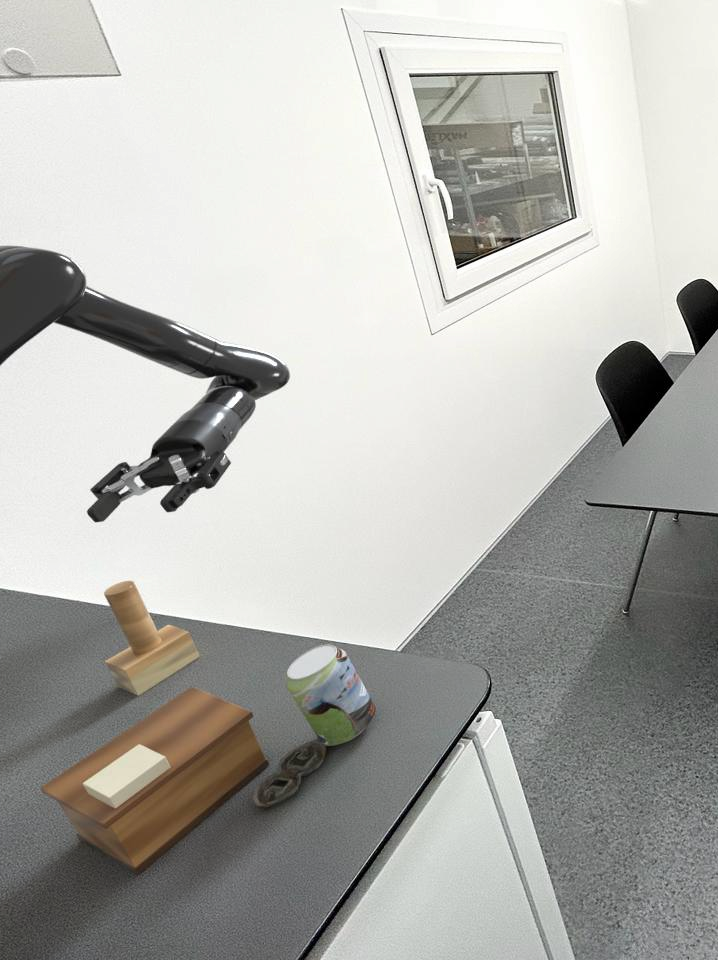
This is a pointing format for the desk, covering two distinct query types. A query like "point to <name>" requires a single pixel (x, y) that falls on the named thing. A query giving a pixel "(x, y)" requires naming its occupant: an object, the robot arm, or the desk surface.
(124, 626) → the wooden stamp
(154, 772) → the cream soap bar
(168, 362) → the robot arm
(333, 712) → the beverage can
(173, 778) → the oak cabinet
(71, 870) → the desk surface
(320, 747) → the corroded twin loop
